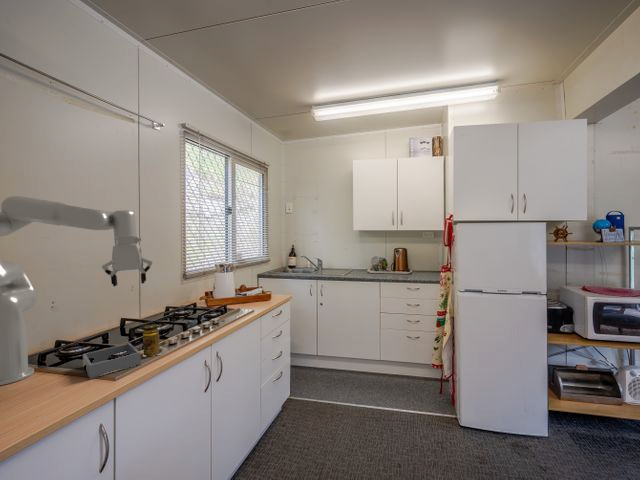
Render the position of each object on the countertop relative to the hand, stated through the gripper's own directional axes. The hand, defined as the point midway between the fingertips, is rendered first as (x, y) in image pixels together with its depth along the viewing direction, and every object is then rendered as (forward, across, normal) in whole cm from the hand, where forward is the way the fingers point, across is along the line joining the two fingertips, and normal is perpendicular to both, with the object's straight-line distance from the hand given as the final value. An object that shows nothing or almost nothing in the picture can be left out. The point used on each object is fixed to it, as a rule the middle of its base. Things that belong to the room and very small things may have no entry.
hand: (129, 284), depth 123 cm
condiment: (+32, -5, -6) cm, 33 cm away
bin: (+31, +8, +2) cm, 32 cm away
